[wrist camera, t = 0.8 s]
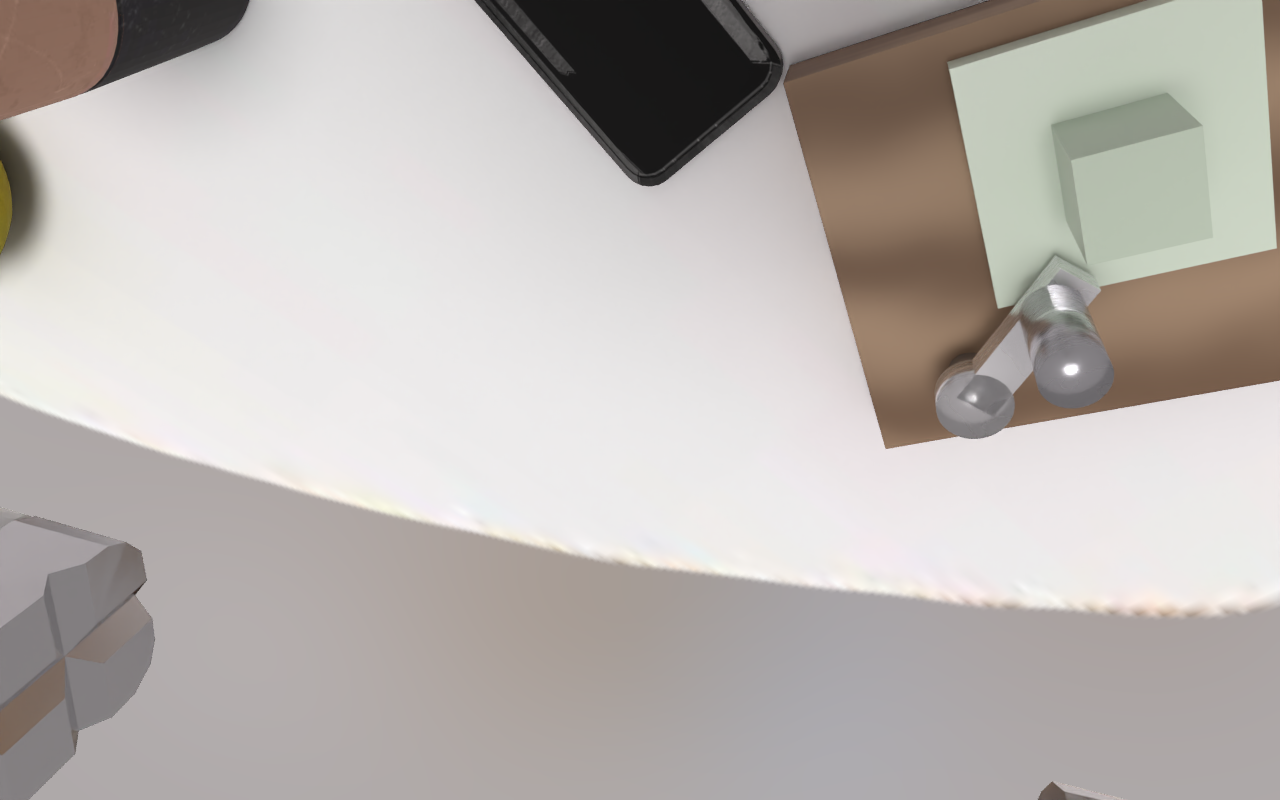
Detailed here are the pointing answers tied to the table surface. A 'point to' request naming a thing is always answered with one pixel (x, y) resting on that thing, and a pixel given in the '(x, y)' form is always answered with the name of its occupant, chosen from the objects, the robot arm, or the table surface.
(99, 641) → the robot arm
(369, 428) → the table surface
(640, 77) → the phone
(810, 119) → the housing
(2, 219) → the lemon
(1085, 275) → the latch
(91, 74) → the travel mug
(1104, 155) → the cover
